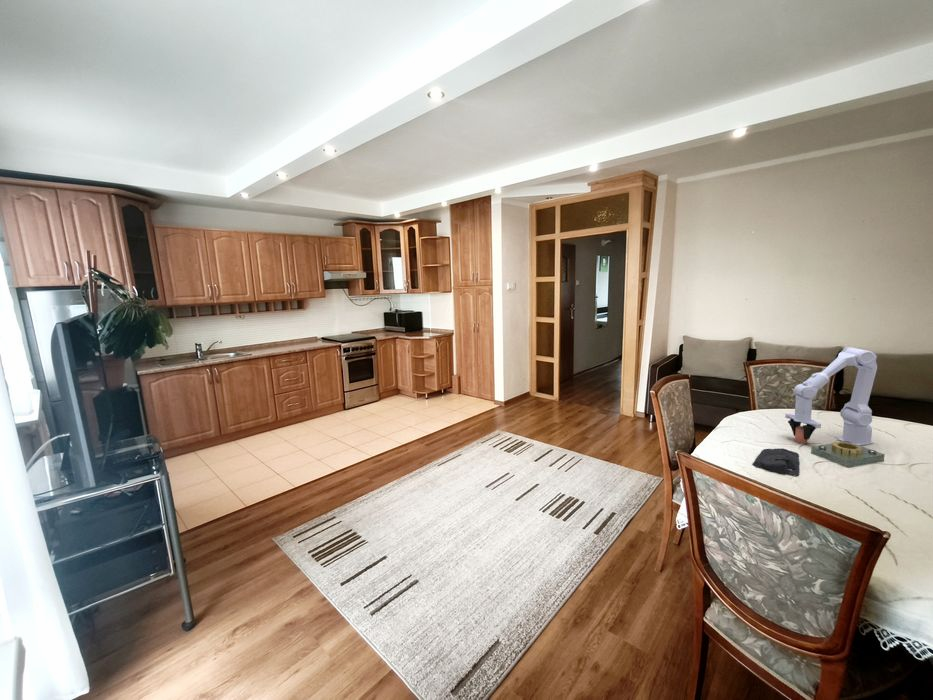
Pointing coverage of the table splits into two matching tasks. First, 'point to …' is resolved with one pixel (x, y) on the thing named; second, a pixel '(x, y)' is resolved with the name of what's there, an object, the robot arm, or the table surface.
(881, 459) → the metal plate with ring
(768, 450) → the dark slate chunk
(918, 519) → the table surface
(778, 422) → the table surface
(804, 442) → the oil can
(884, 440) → the table surface
